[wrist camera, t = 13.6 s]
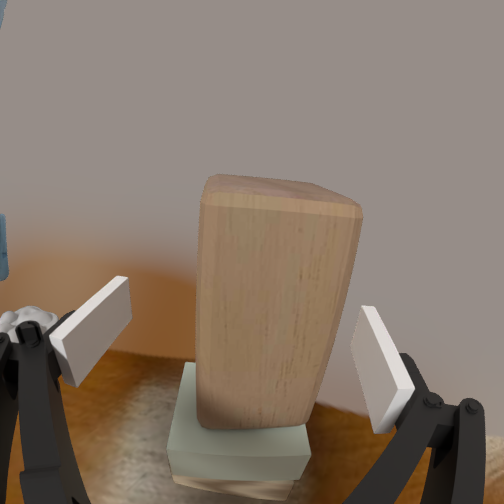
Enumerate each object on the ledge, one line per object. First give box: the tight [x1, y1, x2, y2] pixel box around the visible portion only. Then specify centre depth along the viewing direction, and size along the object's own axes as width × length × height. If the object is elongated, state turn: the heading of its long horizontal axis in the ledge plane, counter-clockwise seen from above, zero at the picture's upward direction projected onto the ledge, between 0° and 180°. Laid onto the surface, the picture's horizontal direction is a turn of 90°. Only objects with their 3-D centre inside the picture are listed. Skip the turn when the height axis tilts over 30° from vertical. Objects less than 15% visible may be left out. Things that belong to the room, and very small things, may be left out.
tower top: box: [166, 362, 311, 481], centre depth 27 cm, size 12×12×5 cm
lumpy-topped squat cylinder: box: [0, 306, 59, 343], centre depth 35 cm, size 10×13×9 cm
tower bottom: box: [169, 463, 294, 501], centre depth 28 cm, size 12×12×5 cm
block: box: [196, 174, 363, 429], centre depth 24 cm, size 10×10×20 cm
